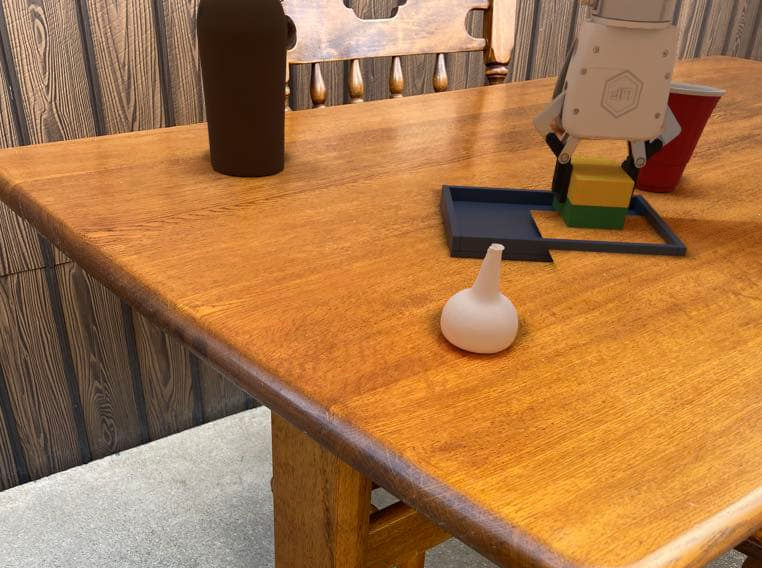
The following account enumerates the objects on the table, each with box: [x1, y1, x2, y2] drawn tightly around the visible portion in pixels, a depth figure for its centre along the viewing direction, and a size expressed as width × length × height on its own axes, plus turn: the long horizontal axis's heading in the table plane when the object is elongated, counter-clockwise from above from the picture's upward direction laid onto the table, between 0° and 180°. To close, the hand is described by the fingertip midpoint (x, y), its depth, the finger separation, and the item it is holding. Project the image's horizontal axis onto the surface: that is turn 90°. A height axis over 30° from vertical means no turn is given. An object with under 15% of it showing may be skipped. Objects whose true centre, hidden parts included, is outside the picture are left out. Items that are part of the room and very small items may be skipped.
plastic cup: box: [635, 81, 727, 193], centre depth 99 cm, size 11×11×12 cm
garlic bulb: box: [440, 244, 519, 354], centre depth 62 cm, size 6×6×8 cm
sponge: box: [552, 156, 634, 231], centre depth 86 cm, size 9×6×5 cm, turn 179°
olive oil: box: [195, 0, 289, 177], centre depth 93 cm, size 11×11×25 cm
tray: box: [439, 184, 688, 263], centre depth 86 cm, size 24×18×2 cm
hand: (589, 199), depth 87 cm, fingers closed on sponge, 6 cm apart
